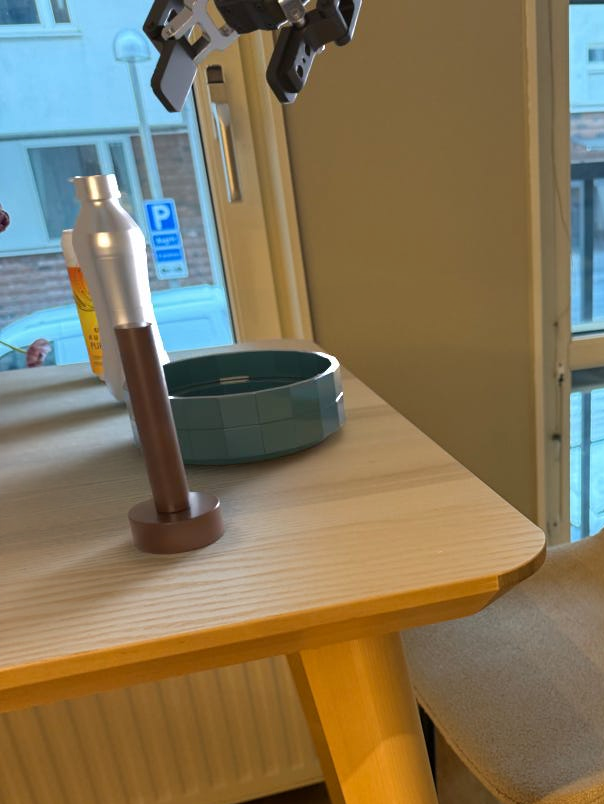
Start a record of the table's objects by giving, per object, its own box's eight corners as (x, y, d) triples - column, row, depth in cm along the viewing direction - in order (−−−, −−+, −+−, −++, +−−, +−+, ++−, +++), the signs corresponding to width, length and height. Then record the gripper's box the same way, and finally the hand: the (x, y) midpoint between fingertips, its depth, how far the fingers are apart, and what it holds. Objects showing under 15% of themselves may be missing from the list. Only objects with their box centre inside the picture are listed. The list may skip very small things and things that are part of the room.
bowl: (104, 473, 72) (86, 402, 69) (179, 413, 87) (167, 353, 84) (324, 466, 70) (314, 393, 68) (361, 407, 85) (354, 345, 83)
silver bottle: (176, 389, 95) (131, 172, 86) (179, 404, 90) (131, 174, 80) (111, 397, 94) (57, 177, 84) (109, 413, 88) (52, 179, 78)
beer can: (96, 385, 99) (58, 233, 92) (92, 374, 104) (56, 229, 97) (154, 377, 101) (122, 227, 94) (148, 367, 106) (117, 224, 99)
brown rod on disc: (120, 555, 57) (64, 336, 51) (153, 521, 62) (105, 318, 56) (209, 552, 56) (163, 332, 50) (235, 519, 61) (196, 314, 55)
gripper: (172, -148, 60) (89, 55, 56) (365, -189, 54) (287, 31, 51) (236, -37, 66) (166, 150, 63) (414, -64, 61) (348, 138, 57)
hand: (220, 97), depth 57 cm, fingers open, 8 cm apart
